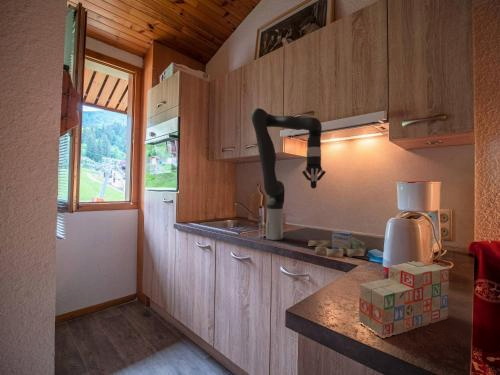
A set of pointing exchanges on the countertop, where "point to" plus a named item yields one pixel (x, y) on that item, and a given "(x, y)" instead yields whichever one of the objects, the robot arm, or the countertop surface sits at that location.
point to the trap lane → (355, 243)
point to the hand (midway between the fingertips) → (313, 188)
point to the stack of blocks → (405, 297)
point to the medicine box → (341, 240)
